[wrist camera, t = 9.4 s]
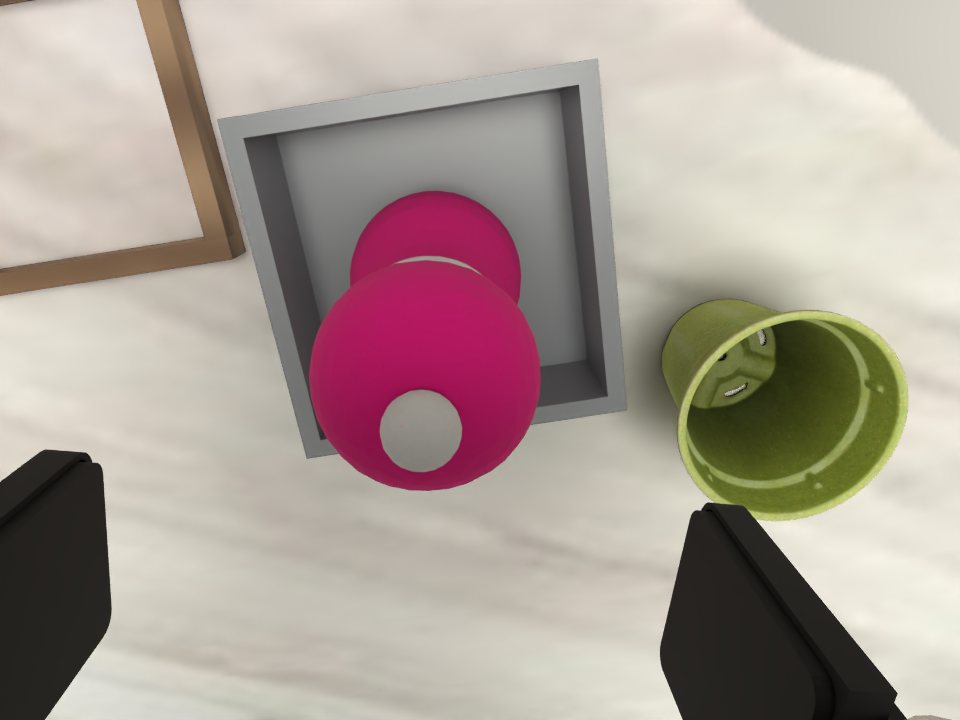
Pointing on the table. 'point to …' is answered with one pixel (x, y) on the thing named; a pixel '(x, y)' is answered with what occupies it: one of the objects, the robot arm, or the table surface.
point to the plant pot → (782, 406)
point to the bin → (450, 168)
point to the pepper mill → (427, 347)
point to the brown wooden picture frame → (198, 161)
